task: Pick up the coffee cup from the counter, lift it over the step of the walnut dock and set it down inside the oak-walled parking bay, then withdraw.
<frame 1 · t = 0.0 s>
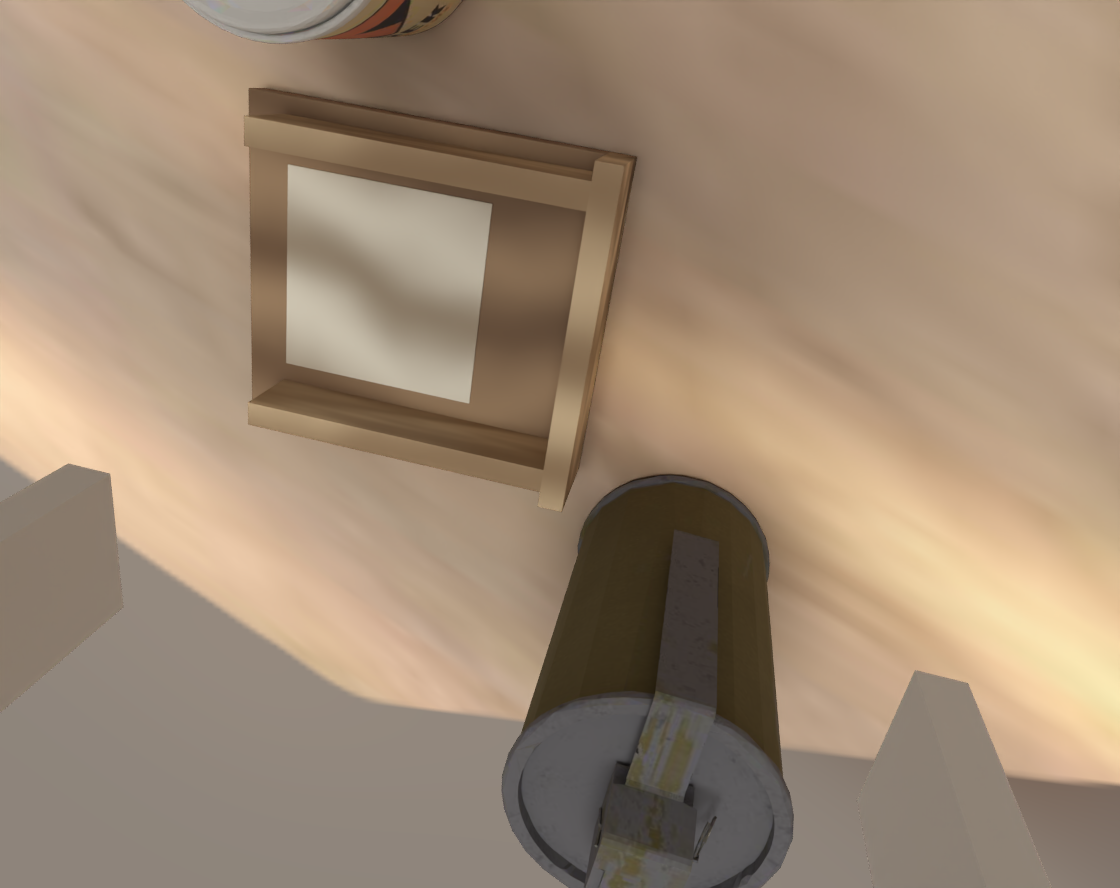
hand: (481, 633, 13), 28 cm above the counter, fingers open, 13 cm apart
dock: (431, 289, 40), on the counter
canister: (673, 553, 44), on the counter
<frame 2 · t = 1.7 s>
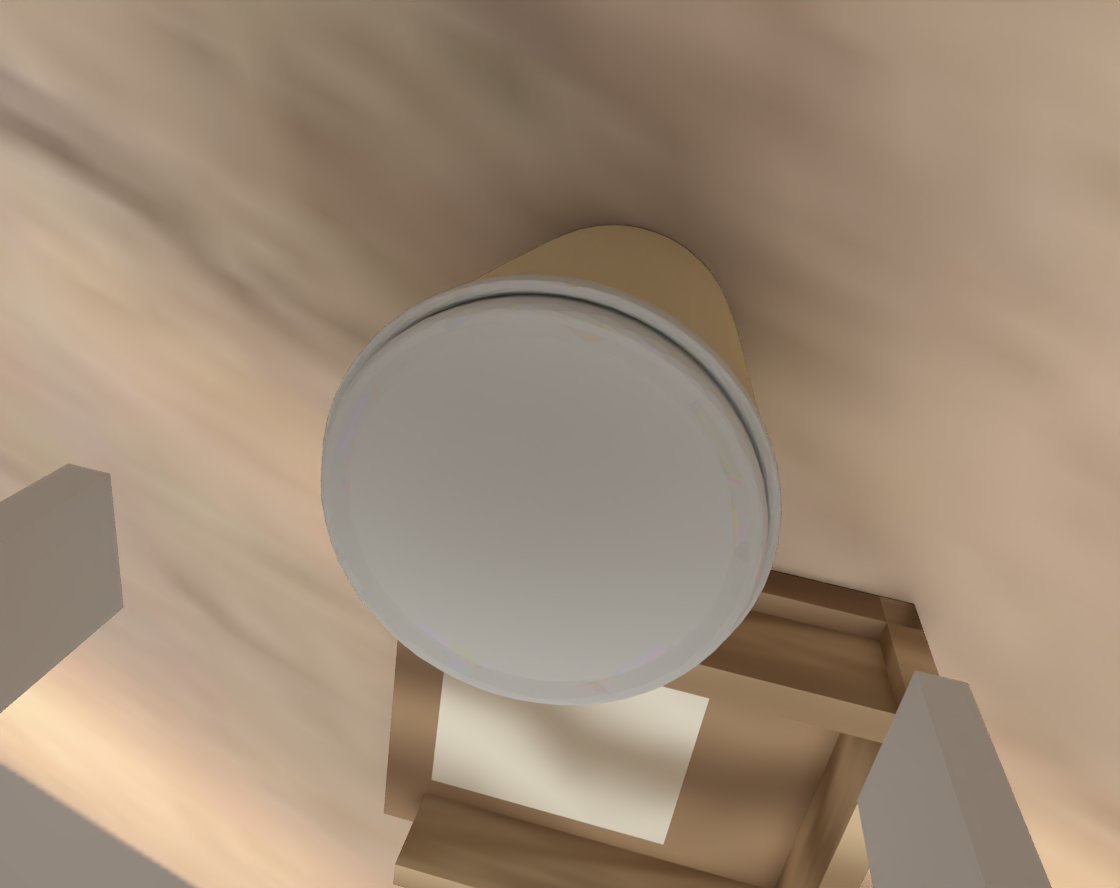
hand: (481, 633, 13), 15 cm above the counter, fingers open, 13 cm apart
dock: (619, 708, 32), on the counter
coffee cup: (615, 342, 26), on the counter
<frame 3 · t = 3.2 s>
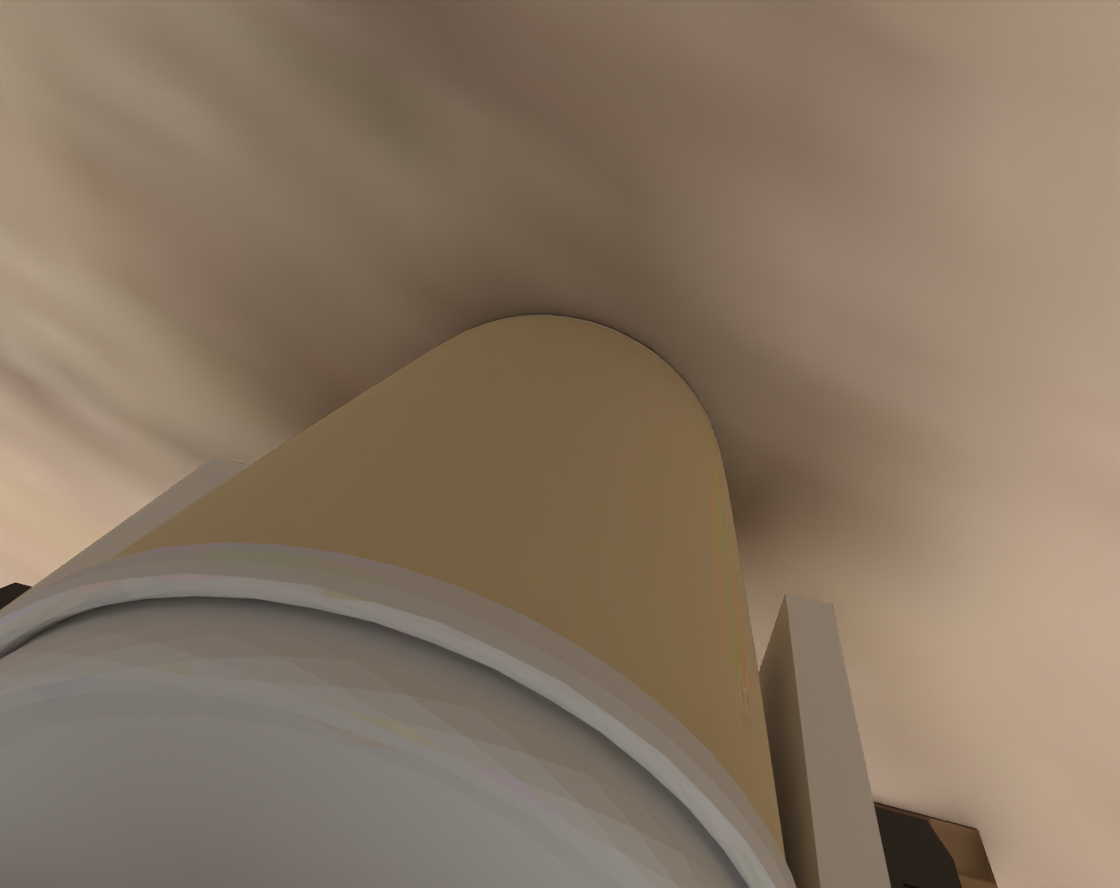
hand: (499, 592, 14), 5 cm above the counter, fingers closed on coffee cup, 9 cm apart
coffee cup: (552, 474, 18), on the counter, touching gripper
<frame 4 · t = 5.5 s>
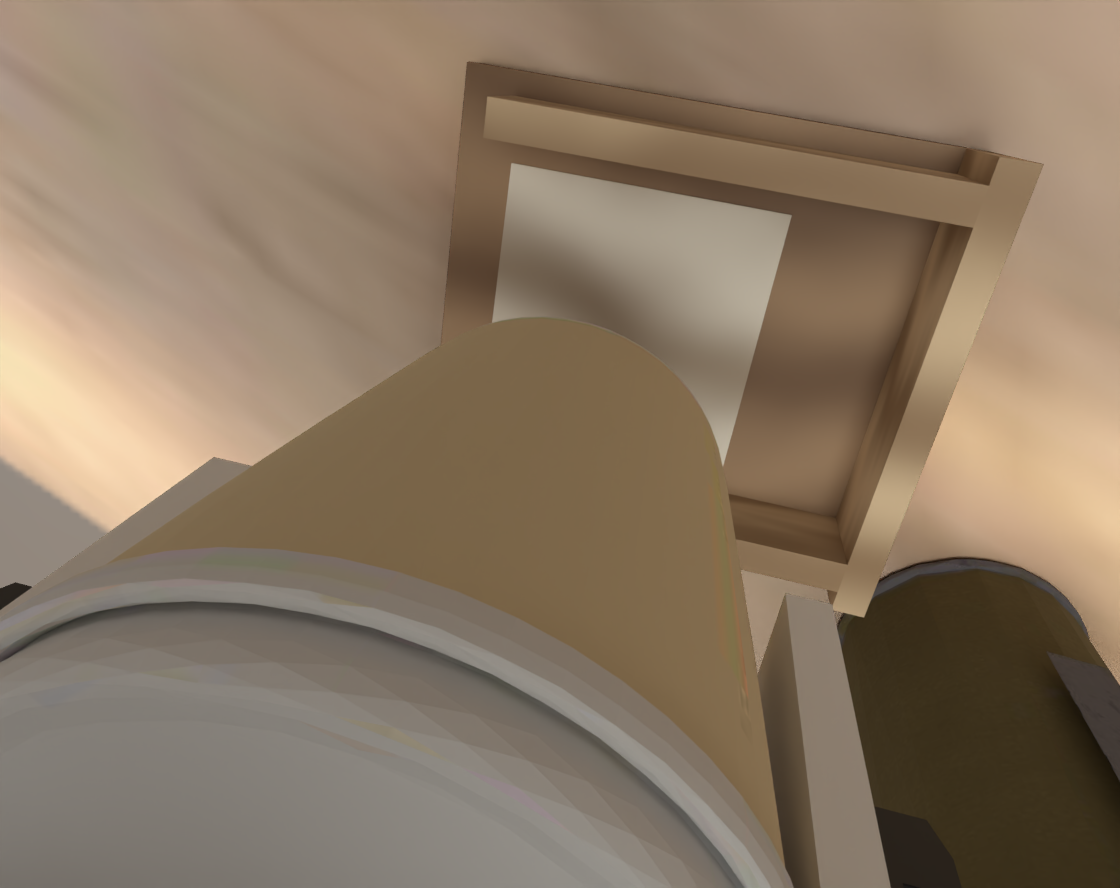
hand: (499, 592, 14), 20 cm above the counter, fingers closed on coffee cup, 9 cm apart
dock: (677, 324, 31), on the counter
coffee cup: (552, 475, 18), point 15 cm above the counter, touching gripper
canister: (954, 652, 35), on the counter
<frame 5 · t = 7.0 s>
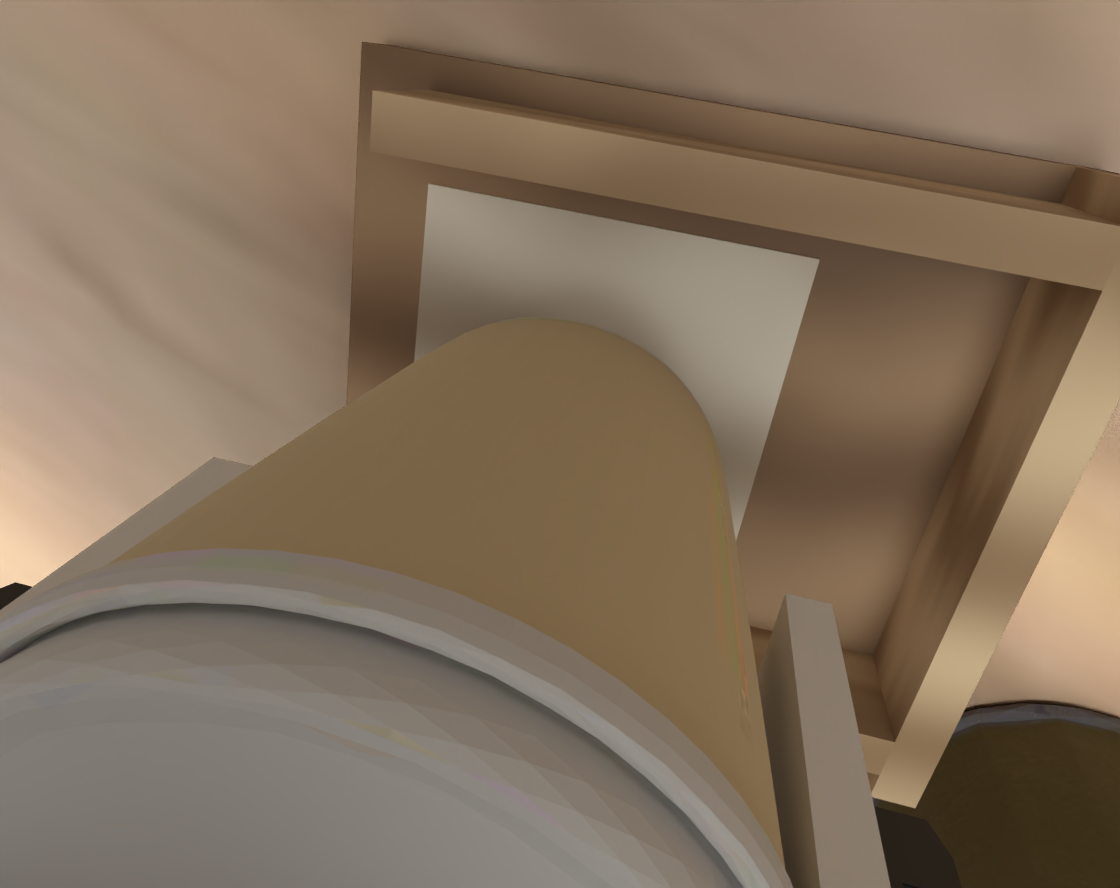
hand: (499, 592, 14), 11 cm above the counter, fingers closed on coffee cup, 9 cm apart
dock: (660, 398, 23), on the counter
coffee cup: (552, 476, 18), point 6 cm above the counter, touching gripper
canister: (1021, 812, 27), on the counter
when the fingers open (7 cm above the counter, at t = 8.3 s): coffee cup stays where it is, resting on dock.
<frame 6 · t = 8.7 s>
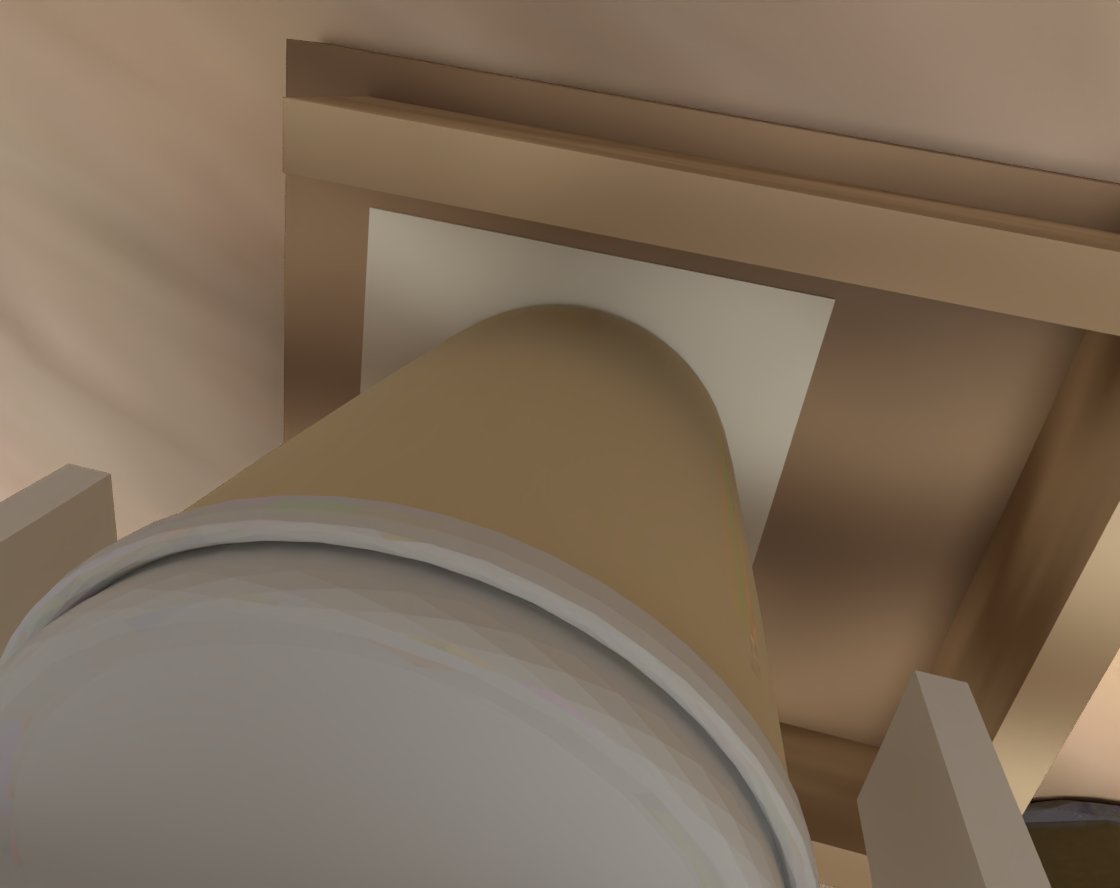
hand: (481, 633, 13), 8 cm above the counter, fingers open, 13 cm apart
dock: (647, 453, 20), on the counter
coffee cup: (564, 458, 19), point 1 cm above the counter, touching dock
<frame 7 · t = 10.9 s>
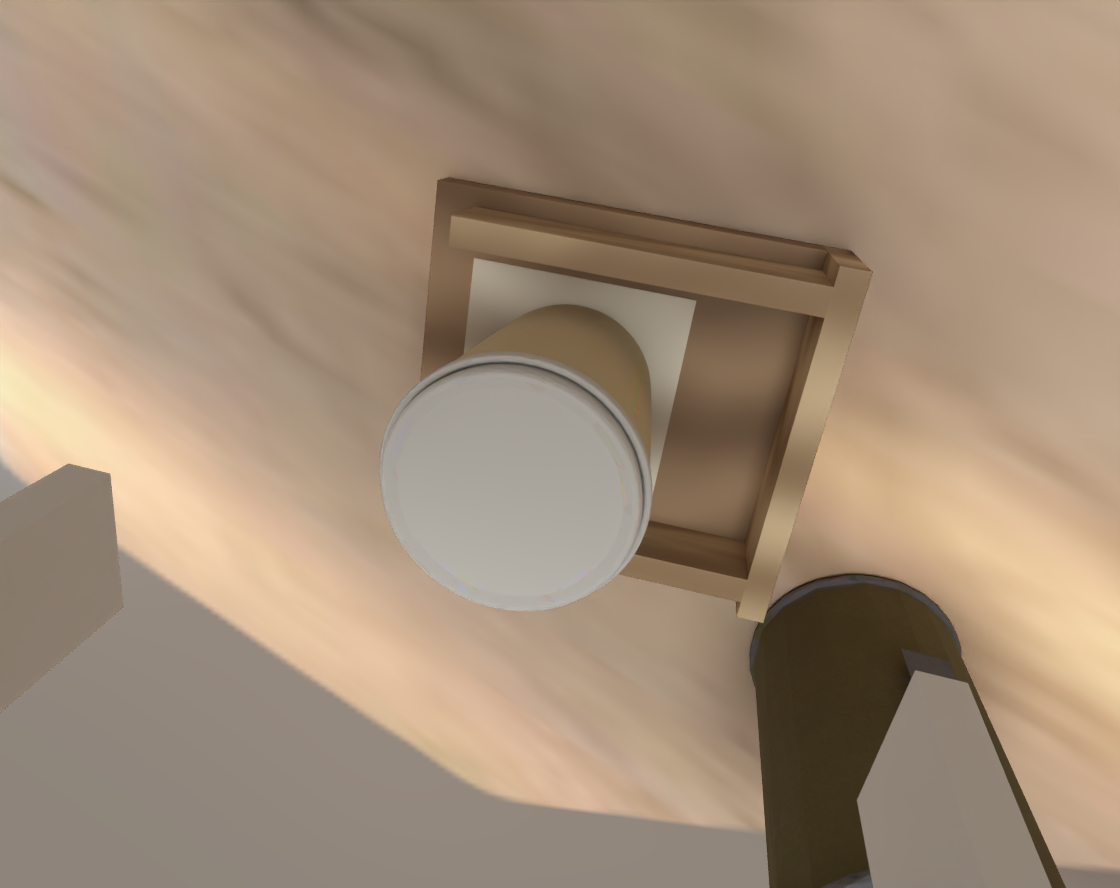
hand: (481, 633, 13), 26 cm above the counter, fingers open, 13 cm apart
dock: (612, 383, 38), on the counter
coffee cup: (568, 383, 37), point 1 cm above the counter, touching dock
canister: (852, 653, 42), on the counter
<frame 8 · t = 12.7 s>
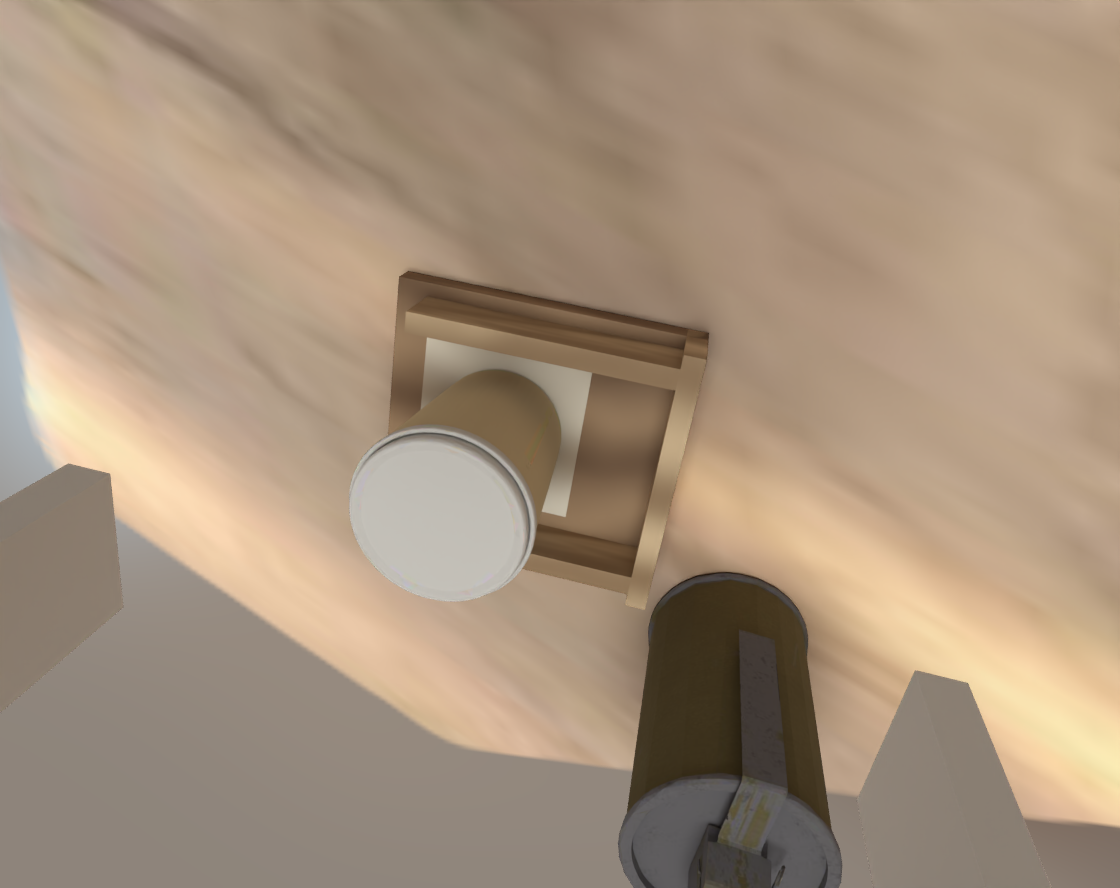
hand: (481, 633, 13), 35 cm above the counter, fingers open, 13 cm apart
dock: (536, 425, 50), on the counter
coffee cup: (501, 427, 49), point 1 cm above the counter, touching dock
canister: (727, 633, 53), on the counter
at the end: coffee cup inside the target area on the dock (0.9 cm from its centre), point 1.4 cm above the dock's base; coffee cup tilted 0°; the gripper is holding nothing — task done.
